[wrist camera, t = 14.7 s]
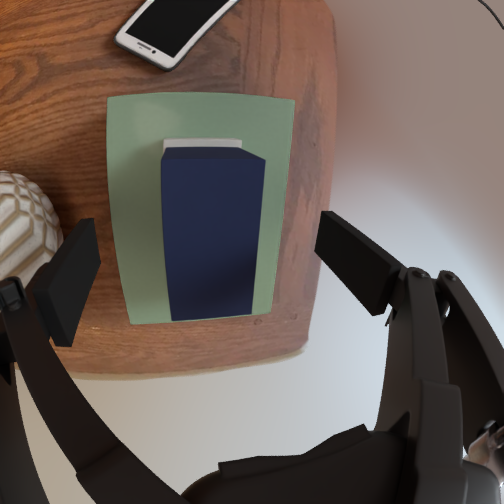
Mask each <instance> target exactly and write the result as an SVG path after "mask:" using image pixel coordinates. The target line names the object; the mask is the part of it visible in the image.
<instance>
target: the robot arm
mask: <svg viewBox="0 0 504 504" xmlns="http://www.w3.org/2000/svg"><path fill="white" fill-rule="evenodd" d="M478 1H479V2H480V3H482V4H483V5H484V6H485V7H486V8H487V9H488V10H489V11H490V12H491V13H492V15H493V16H494V17H495V19H496V20H497V21H498V23H499V24H500V26H501V27H502V29H504V26H503V24H502V23H501V21H500V20H499V19H498V17H497V16H496V15H495V13H494V12H493V11H492V9H491V8H490V7H489V6H488V5H487V4H486V3H484V2H483V1H482V0H478ZM314 252H315V253H316V254H317V255H318V256H319V257H320V258H321V259H322V260H323V261H324V262H325V264H326V265H327V266H328V267H329V268H330V269H331V270H332V271H333V272H334V273H335V275H337V277H338V278H339V279H340V280H341V281H342V282H343V283H344V284H345V286H346V287H347V288H348V289H349V290H350V291H351V292H352V294H353V295H354V296H355V297H356V298H357V299H358V300H359V301H360V303H361V304H362V305H363V306H364V307H365V308H366V309H367V311H368V312H369V313H370V314H371V315H372V316H376V315H380V314H384V312H385V310H386V307H387V305H388V303H389V304H390V305H391V306H392V307H393V308H392V310H391V312H390V315H389V317H388V319H387V322H386V324H385V326H387V324H389V336H388V348H387V358H386V367H385V375H384V382H383V389H382V396H381V402H380V407H379V413H378V418H377V422H376V426H375V428H374V430H373V431H368V430H367V428H366V426H365V425H364V424H361V425H359V426H356V427H354V428H351V429H349V430H346V431H343V432H341V433H338V434H335V435H333V436H332V437H330V438H328V439H327V440H325V441H324V442H322V443H321V444H319V445H318V446H316V447H314V448H313V449H311V450H309V451H308V452H306V453H304V454H301V455H291V456H255V457H250V458H245V459H239V460H233V461H226V462H219V463H218V468H219V470H218V471H215V472H212V473H210V474H208V475H206V476H204V477H202V478H200V479H199V480H197V481H195V482H194V483H193V484H191V485H190V486H189V487H188V488H187V489H186V490H185V491H184V492H183V493H182V494H181V495H179V494H178V493H177V492H175V491H174V490H173V489H172V488H170V487H169V486H168V485H167V484H166V483H164V482H163V481H162V480H161V479H160V478H159V477H158V476H156V475H155V474H154V473H153V472H152V471H151V470H150V469H149V468H148V467H147V466H145V465H144V464H143V463H142V462H141V461H140V460H139V459H138V458H137V457H136V456H135V455H134V454H133V453H132V452H131V451H130V450H129V449H128V448H127V447H126V446H125V445H124V444H123V443H122V442H121V441H120V440H119V439H118V438H117V437H116V436H115V435H114V434H113V432H112V431H111V430H110V429H109V428H108V427H107V425H106V424H105V423H104V422H103V421H102V419H101V418H100V417H99V416H98V415H97V413H96V412H95V411H94V409H93V408H92V407H91V405H90V404H89V403H88V402H87V400H86V399H85V397H84V396H83V395H82V393H81V392H80V390H79V389H78V388H77V386H76V385H75V383H74V382H73V380H72V379H71V377H70V376H69V374H68V373H67V371H66V369H65V368H64V366H63V365H62V363H61V361H60V360H59V358H58V356H57V355H56V353H55V351H54V350H53V348H52V346H51V344H50V342H49V339H50V336H51V337H52V339H53V341H54V344H55V346H60V347H72V343H73V340H74V336H75V333H76V330H77V327H78V324H79V320H80V317H81V314H82V311H83V309H84V306H85V303H86V300H87V297H88V295H89V292H90V289H91V287H92V284H93V281H94V279H95V276H96V274H97V271H98V269H99V267H100V264H101V260H100V255H99V250H98V244H97V239H96V232H95V226H94V219H93V218H87V219H81V220H80V221H79V222H78V224H77V225H76V226H75V227H74V229H73V230H72V231H71V232H70V234H69V235H68V236H67V238H66V239H65V240H64V242H63V243H62V244H61V246H60V247H59V249H58V250H57V251H56V253H55V254H54V256H53V257H52V258H51V260H50V261H49V262H45V263H44V264H43V265H42V266H40V267H39V268H38V269H37V271H36V272H35V274H34V276H33V277H32V278H31V280H30V281H29V283H28V284H27V286H26V287H25V289H24V287H23V284H22V282H21V279H20V278H19V277H17V276H10V277H7V278H5V279H3V280H1V281H0V311H1V312H0V504H50V503H49V501H48V499H47V496H46V494H45V492H44V489H43V487H42V484H41V482H40V479H39V477H38V473H37V471H36V468H35V465H34V462H33V459H32V455H31V452H30V448H29V445H28V441H27V438H26V433H25V429H24V425H23V421H22V415H21V410H20V405H19V399H18V392H17V385H16V377H15V367H14V362H17V363H18V366H19V369H20V371H21V373H22V376H23V378H24V381H25V383H26V385H27V387H28V390H29V392H30V394H31V396H32V398H33V400H34V402H35V404H36V406H37V408H38V410H39V412H40V414H41V416H42V418H43V420H44V421H45V423H46V425H47V427H48V428H49V430H50V432H51V434H52V435H53V437H54V438H55V440H56V442H57V443H58V445H59V447H60V448H61V449H62V451H63V453H64V454H65V456H66V457H67V458H68V460H69V461H70V463H71V464H72V465H73V467H74V469H75V470H76V472H77V473H76V477H77V479H78V481H79V482H80V484H81V485H82V487H83V488H84V489H85V491H86V492H87V493H88V494H89V495H90V497H91V498H92V499H93V500H94V501H95V503H96V504H501V498H500V488H501V486H502V485H503V484H504V349H503V347H502V345H501V343H500V341H499V339H498V338H497V336H496V334H495V332H494V331H493V329H492V327H491V326H490V324H489V322H488V321H487V319H486V317H485V316H484V314H483V313H482V311H481V310H480V308H479V306H478V305H477V303H476V302H475V300H474V299H473V297H472V296H471V294H470V293H469V292H468V290H467V289H466V287H465V286H464V284H463V283H462V282H461V280H460V279H459V278H458V277H457V276H456V275H455V274H454V273H453V272H450V271H445V270H442V271H440V273H439V275H438V278H437V279H433V278H431V277H430V275H429V274H428V273H427V272H425V271H424V270H422V269H420V268H416V267H409V268H406V267H405V266H404V265H403V264H402V263H400V262H399V261H398V260H397V259H395V258H394V257H393V256H392V255H390V254H389V253H388V252H387V251H385V250H384V249H383V248H382V247H380V246H379V245H378V244H376V243H375V242H374V241H372V240H371V239H370V238H368V237H367V236H366V235H365V234H363V233H362V232H360V231H359V230H357V229H356V228H355V227H354V226H352V225H351V224H350V223H348V222H347V221H345V220H344V219H343V218H341V217H340V216H338V215H337V214H336V213H334V212H333V211H321V217H320V223H319V229H318V234H317V239H316V245H315V250H314ZM449 306H450V311H449V314H448V316H447V317H446V315H445V314H446V312H447V310H448V307H449ZM463 446H464V449H465V451H466V453H467V455H466V456H465V457H464V458H463ZM462 458H463V459H462Z"/></svg>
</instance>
